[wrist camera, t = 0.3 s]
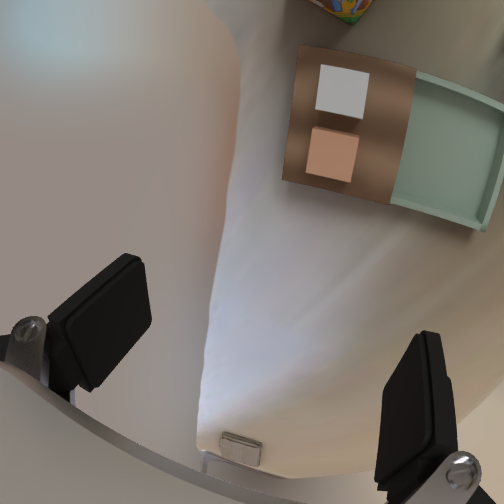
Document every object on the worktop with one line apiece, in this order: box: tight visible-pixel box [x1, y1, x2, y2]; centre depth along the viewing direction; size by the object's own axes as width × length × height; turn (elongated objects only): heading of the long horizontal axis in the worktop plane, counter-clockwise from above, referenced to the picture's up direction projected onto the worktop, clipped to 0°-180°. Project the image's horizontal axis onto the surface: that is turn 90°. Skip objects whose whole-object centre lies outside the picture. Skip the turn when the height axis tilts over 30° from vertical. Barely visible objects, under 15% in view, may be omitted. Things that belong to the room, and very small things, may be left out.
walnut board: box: [282, 45, 417, 205], centre depth 30 cm, size 15×12×4 cm
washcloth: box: [219, 432, 262, 467], centre depth 76 cm, size 12×18×3 cm, turn 179°
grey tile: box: [315, 64, 369, 119], centre depth 26 cm, size 4×4×2 cm
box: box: [390, 71, 504, 232], centre depth 27 cm, size 15×13×3 cm
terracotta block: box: [306, 126, 359, 183], centre depth 29 cm, size 4×4×2 cm
